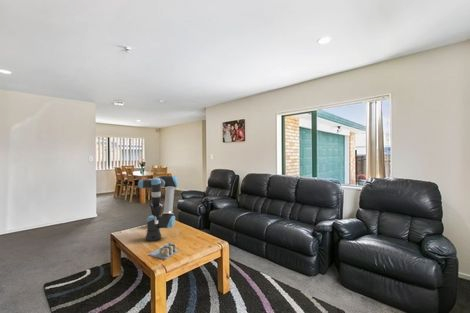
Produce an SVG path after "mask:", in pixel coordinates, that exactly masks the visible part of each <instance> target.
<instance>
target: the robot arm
mask: <svg viewBox="0 0 470 313" xmlns="http://www.w3.org/2000/svg"><path fill="white" fill-rule="evenodd" d="M137 186H138V188H139V189H151V203H150V204H149V207H150V211H151V215H149V216H147V218H146V234H145V236H144V237H145V238H144V240H145V241H147V242H155V241H159V240H161V239H162V234H161V230H160V229H172V228H173V227H174V226H175V223H176V216H175V215H174V213H173V211H174V207H173V206H174V200H175V199H174V198H175V197H174V196H175V190H176V189H177V187H178V186H179V179H178V176H176V175H161V176H160V175H159V176H155V177H153V178H148V179H140V180H138V183H137ZM161 188H164V189H165V196H164V197H165V198H164V204H165V205H164V213H163V214H162V216H160V215H161V211H162V207H163V205H161V199H162V198H161V196H162V194H161V193H162V191H161Z"/></svg>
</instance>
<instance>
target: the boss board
mask: <svg viewBox="0 0 470 313" xmlns="http://www.w3.org/2000/svg"><path fill="white" fill-rule="evenodd" d="M167 243H168V245H165V244H164V247H165V248H168V247H169V246H172V245H173V244H174V242H171V241H170V242H167ZM179 251H180V250H179V249H176V252H173V254H169V256H163V255H160V251H159V248H158V249H155V250H154V251H152V252H149V253H148V256H150V257H153V258H154V257H155V258H159V259H162V260H167V259H169V258H170V257H172V256H174V255H175V254H177V253H179Z"/></svg>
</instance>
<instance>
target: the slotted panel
mask: <svg viewBox="0 0 470 313" xmlns="http://www.w3.org/2000/svg"><path fill="white" fill-rule="evenodd" d="M168 243H169V242H167V243H165V244H164V245H168ZM164 245H163V244H162V245H160V246H159V248H158V249H159V251H160V255H163V256H169V254H173V252H176V250H177V243H173V245H172V246H169V247H168V248H165V247H164Z"/></svg>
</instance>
